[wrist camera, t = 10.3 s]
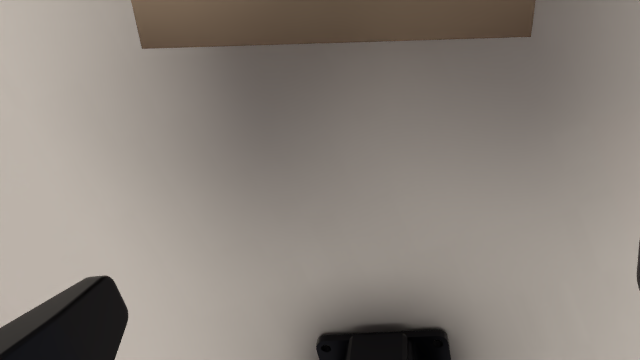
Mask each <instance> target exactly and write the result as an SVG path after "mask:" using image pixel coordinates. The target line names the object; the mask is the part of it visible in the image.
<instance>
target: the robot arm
mask: <svg viewBox="0 0 640 360" xmlns="http://www.w3.org/2000/svg"><path fill="white" fill-rule="evenodd" d="M637 282H638V286H639V290H640V242H639V253H638V265H637ZM127 321H128V310H127V307H126V305H125V303H124V301H123V299H122V297H121V294H120V292H119V290H118V288H117V286H116V284H115V282H114V281H113V279H112V278H110V277H109V276H94V277H88V278H85V279H83V280H82V281H80V282H78V283H77V284H75V285H73V286H71V287H70V288H68V289H66V290H65V291H63V292H61V293H59V294H58V295H56V296H54V297H53V298H51V299H49V300H47V301H46V302H44V303H42V304H41V305H39V306H37V307H35V308H34V309H32V310H30V311H29V312H27V313H25V314H23V315H22V316H20V317H18V318H17V319H15V320H13V321H11V322H10V323H8V324H6V325H5V326H3V327H1V328H0V360H114V359H115V356H116V354H117V351H118V348H119V345H120V342H121V339H122V336H123V333H124V330H125V328H126V325H127ZM434 340H441V341H434ZM325 345H328V346H325ZM316 349H317V353H318V356H319V360H451V357H450V350H449V342H448V336H447V334H446V333H445V332H444V331H441V330H421V331H401V332H381V333H361V334H341V335H324V336H321V337H319V339H318V341H317V346H316Z"/></svg>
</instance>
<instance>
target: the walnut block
mask: <svg viewBox="0 0 640 360" xmlns="http://www.w3.org/2000/svg"><path fill="white" fill-rule="evenodd" d="M535 1H536V0H131V2H132V6H133V11H134V15H135V20H136V24H137V29H138V33H139V37H140V42H141V46H142V49H147V48H180V47H213V46H245V45H278V44H311V43H343V42H376V41H409V40H441V39H474V38H507V37H531V32H532V24H533V16H534V8H535Z"/></svg>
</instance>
